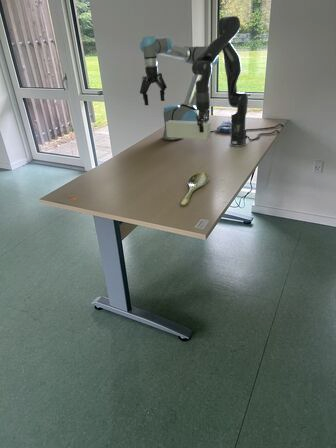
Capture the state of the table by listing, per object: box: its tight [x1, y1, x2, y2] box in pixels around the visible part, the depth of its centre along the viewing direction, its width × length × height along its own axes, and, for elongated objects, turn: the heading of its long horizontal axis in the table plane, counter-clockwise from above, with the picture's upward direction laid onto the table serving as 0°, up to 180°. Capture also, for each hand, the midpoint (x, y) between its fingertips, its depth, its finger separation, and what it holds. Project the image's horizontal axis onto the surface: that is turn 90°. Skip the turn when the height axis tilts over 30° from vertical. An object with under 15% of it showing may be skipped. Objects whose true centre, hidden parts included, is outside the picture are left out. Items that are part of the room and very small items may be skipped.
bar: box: [166, 120, 212, 141], centre depth 198 cm, size 26×5×9 cm, turn 63°
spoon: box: [180, 171, 210, 207], centre depth 170 cm, size 35×11×2 cm, turn 159°
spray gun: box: [216, 120, 231, 134], centre depth 254 cm, size 21×4×15 cm
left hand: (154, 103), depth 210 cm, fingers open, 13 cm apart
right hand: (203, 130), depth 193 cm, fingers closed on bar, 5 cm apart
